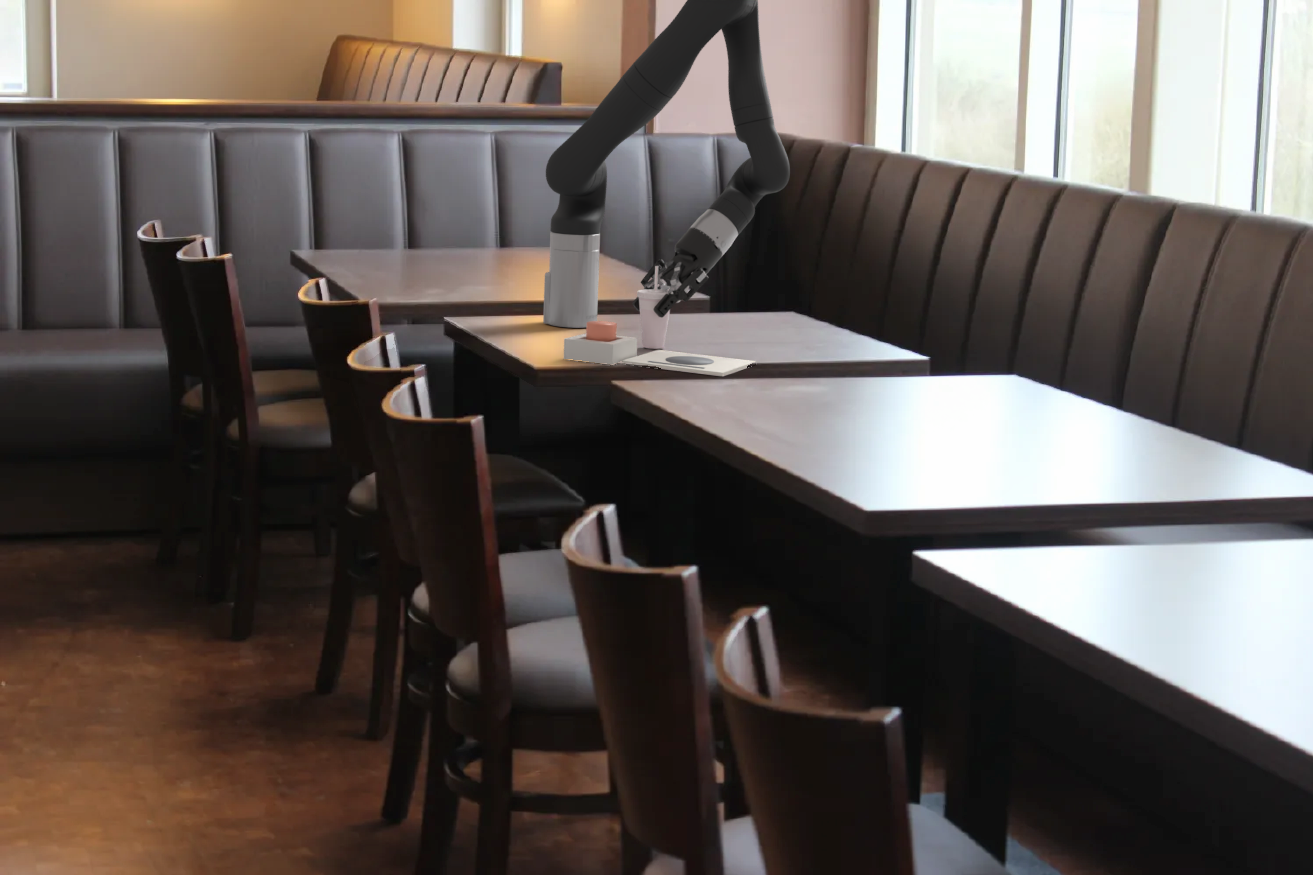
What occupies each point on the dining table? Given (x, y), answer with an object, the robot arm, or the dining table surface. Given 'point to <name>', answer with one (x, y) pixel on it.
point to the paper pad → (690, 362)
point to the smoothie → (652, 316)
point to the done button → (601, 331)
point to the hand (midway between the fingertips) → (646, 310)
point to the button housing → (600, 349)
